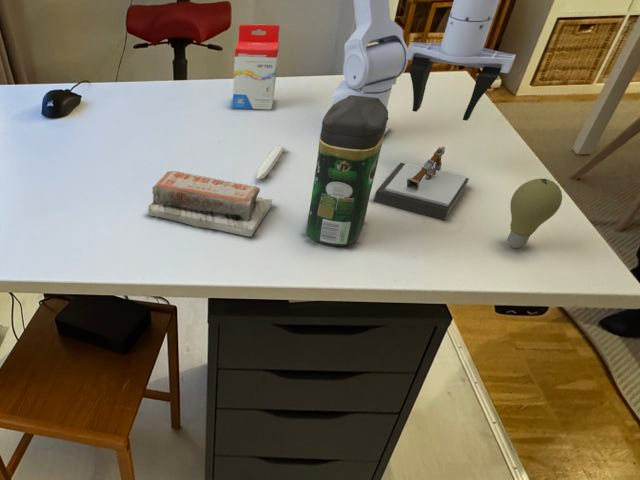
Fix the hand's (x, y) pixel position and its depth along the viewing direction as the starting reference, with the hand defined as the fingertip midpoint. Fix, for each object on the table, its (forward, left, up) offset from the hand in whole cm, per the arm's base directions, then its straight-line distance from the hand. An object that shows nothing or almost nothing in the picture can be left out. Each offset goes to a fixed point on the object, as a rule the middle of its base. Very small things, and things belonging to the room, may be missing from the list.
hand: (440, 113), depth 86 cm
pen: (-23, -12, -10) cm, 28 cm away
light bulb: (+18, -16, -10) cm, 26 cm away
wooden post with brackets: (+2, -9, -7) cm, 12 cm away
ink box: (-39, +11, -10) cm, 42 cm away
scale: (+2, -9, -9) cm, 13 cm away
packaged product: (-24, -30, -10) cm, 40 cm away
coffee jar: (-5, -25, -10) cm, 28 cm away
